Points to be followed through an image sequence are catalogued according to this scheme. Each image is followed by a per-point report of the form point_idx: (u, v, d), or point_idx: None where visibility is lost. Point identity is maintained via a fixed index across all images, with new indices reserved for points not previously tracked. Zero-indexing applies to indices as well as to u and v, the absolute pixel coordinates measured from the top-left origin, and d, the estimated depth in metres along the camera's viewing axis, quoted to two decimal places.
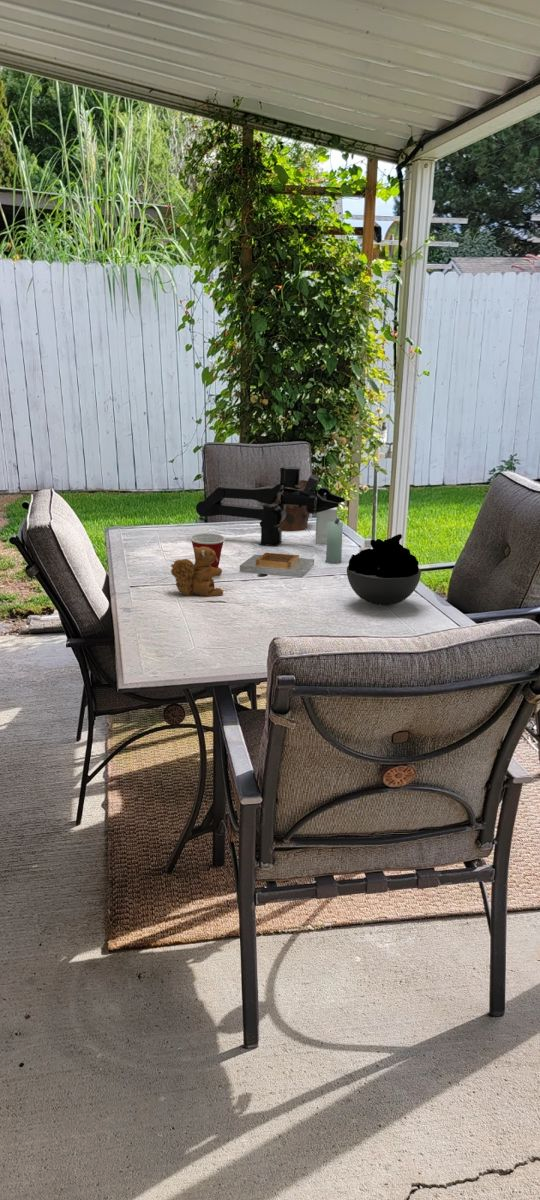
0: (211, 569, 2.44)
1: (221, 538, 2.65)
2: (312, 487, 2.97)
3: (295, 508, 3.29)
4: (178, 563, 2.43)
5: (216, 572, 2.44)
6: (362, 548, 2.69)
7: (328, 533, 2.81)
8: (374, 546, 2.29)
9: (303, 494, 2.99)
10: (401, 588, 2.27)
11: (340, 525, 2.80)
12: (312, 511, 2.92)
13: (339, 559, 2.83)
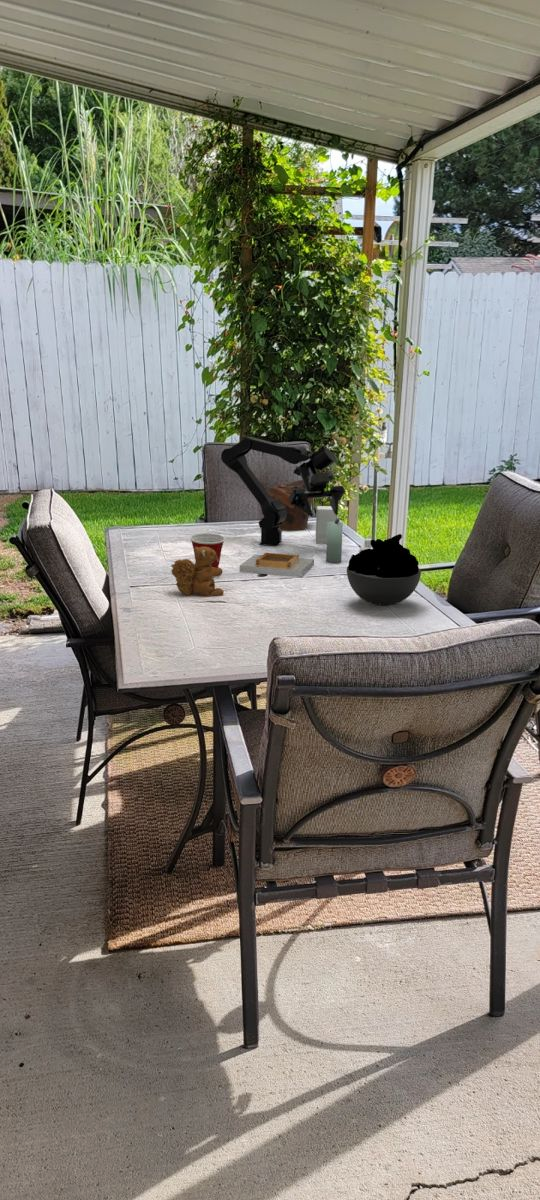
0: (211, 569, 2.44)
1: (221, 538, 2.65)
2: (313, 483, 2.88)
3: (295, 508, 3.29)
4: (178, 563, 2.43)
5: (217, 572, 2.44)
6: (362, 548, 2.69)
7: (328, 533, 2.81)
8: (374, 546, 2.29)
9: None
10: (401, 588, 2.27)
11: (340, 525, 2.80)
12: (290, 502, 2.90)
13: (339, 559, 2.83)
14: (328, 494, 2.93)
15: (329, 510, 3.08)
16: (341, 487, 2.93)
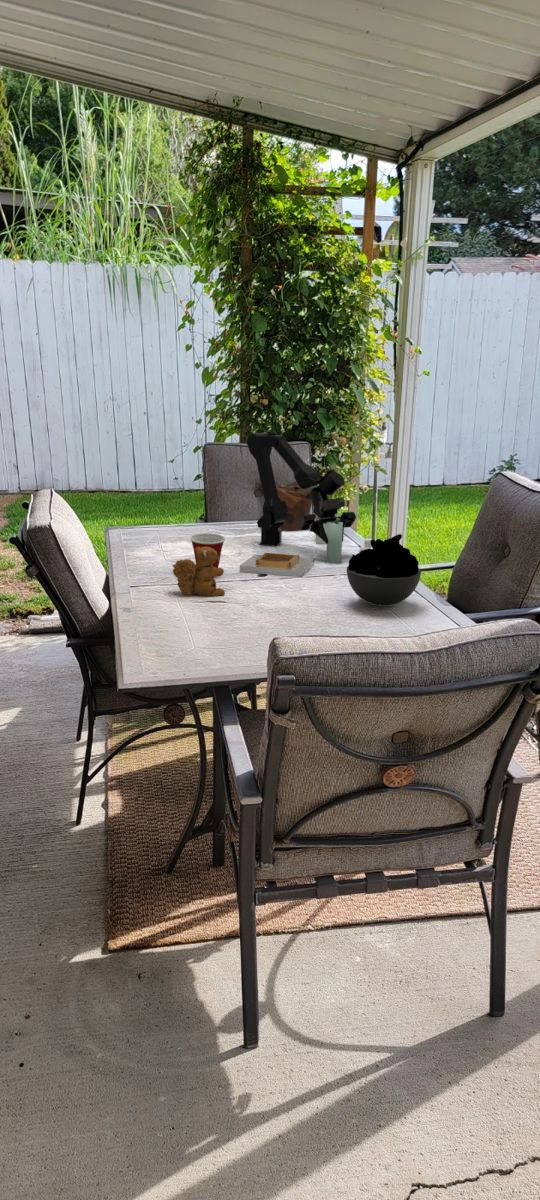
0: (213, 569, 2.44)
1: (221, 538, 2.65)
2: (324, 509, 2.83)
3: (295, 508, 3.29)
4: (180, 563, 2.43)
5: (218, 573, 2.44)
6: (362, 548, 2.69)
7: (328, 533, 2.81)
8: (374, 546, 2.29)
9: None
10: (401, 588, 2.27)
11: (340, 525, 2.80)
12: (300, 528, 2.85)
13: (339, 559, 2.83)
14: (334, 520, 2.87)
15: None
16: (352, 513, 2.87)
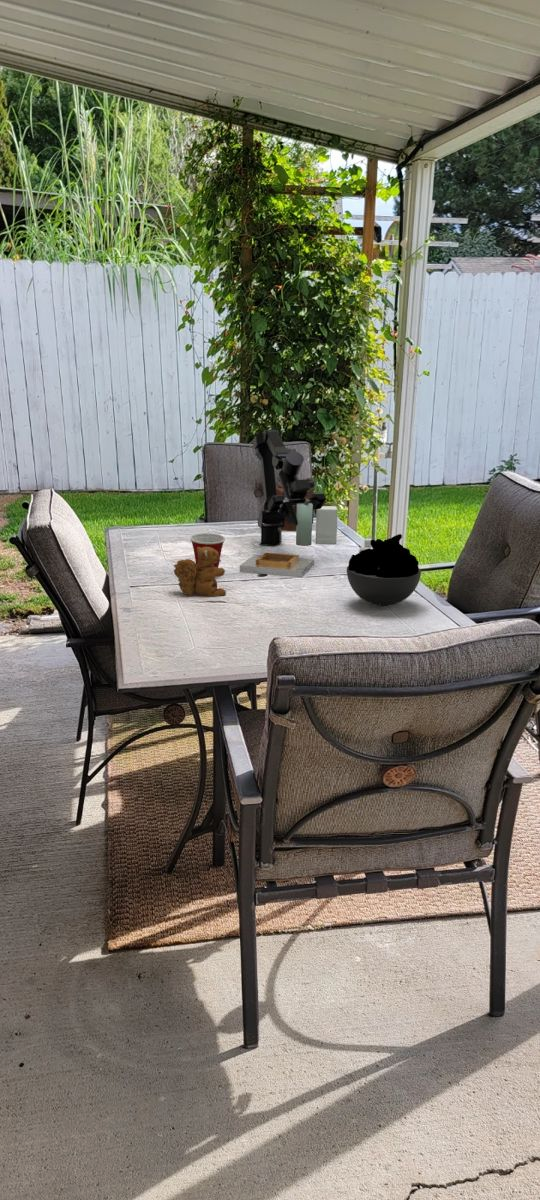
0: (214, 569, 2.44)
1: (221, 538, 2.65)
2: (293, 490, 2.75)
3: (295, 508, 3.29)
4: (181, 563, 2.43)
5: (219, 573, 2.44)
6: (362, 548, 2.69)
7: (298, 515, 2.74)
8: (374, 546, 2.29)
9: None
10: (401, 588, 2.27)
11: (310, 506, 2.72)
12: (269, 509, 2.77)
13: (309, 542, 2.76)
14: (303, 502, 2.79)
15: (329, 510, 3.08)
16: (322, 495, 2.80)
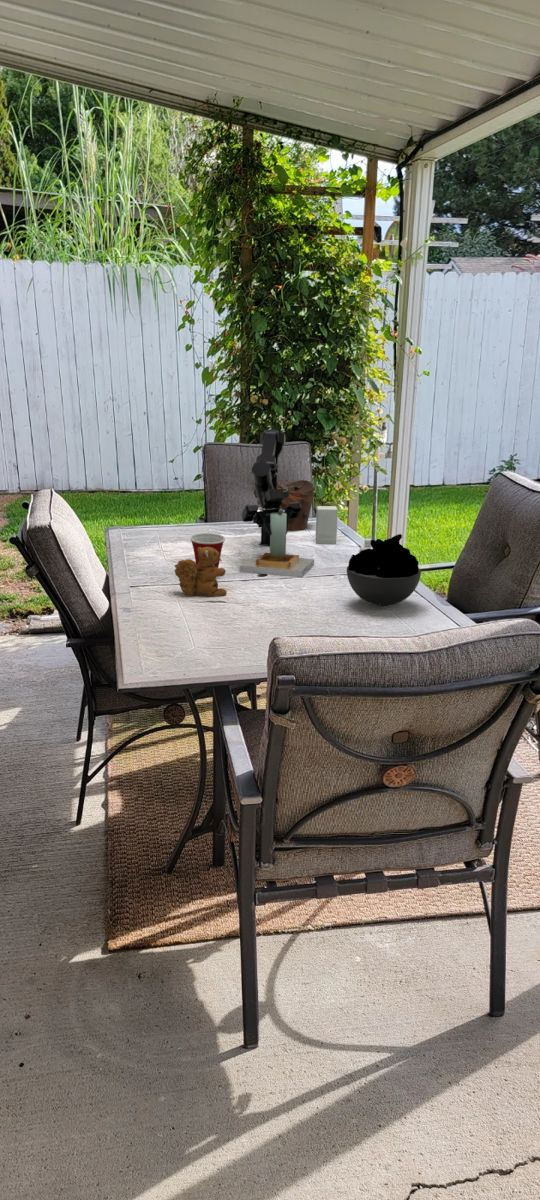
0: (215, 569, 2.44)
1: (221, 538, 2.65)
2: (267, 499, 2.72)
3: None
4: (182, 563, 2.43)
5: (220, 573, 2.44)
6: (362, 548, 2.69)
7: (271, 525, 2.70)
8: (374, 546, 2.29)
9: (263, 496, 2.75)
10: (401, 588, 2.27)
11: (283, 516, 2.69)
12: None
13: (283, 552, 2.72)
14: (278, 511, 2.76)
15: (329, 510, 3.08)
16: (298, 504, 2.76)
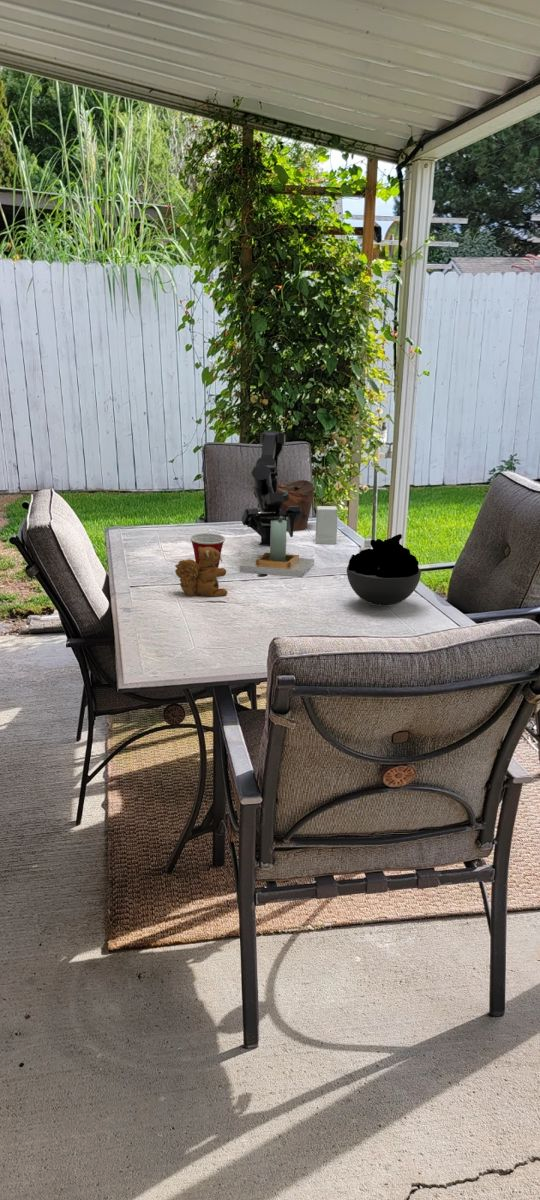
0: (215, 569, 2.44)
1: (221, 538, 2.65)
2: (267, 503, 2.72)
3: None
4: (182, 563, 2.43)
5: (221, 573, 2.44)
6: (362, 548, 2.69)
7: (271, 532, 2.71)
8: (374, 546, 2.29)
9: (263, 500, 2.75)
10: (401, 588, 2.27)
11: (284, 524, 2.69)
12: (242, 522, 2.74)
13: (283, 559, 2.73)
14: (284, 515, 2.77)
15: (329, 510, 3.08)
16: (297, 507, 2.76)
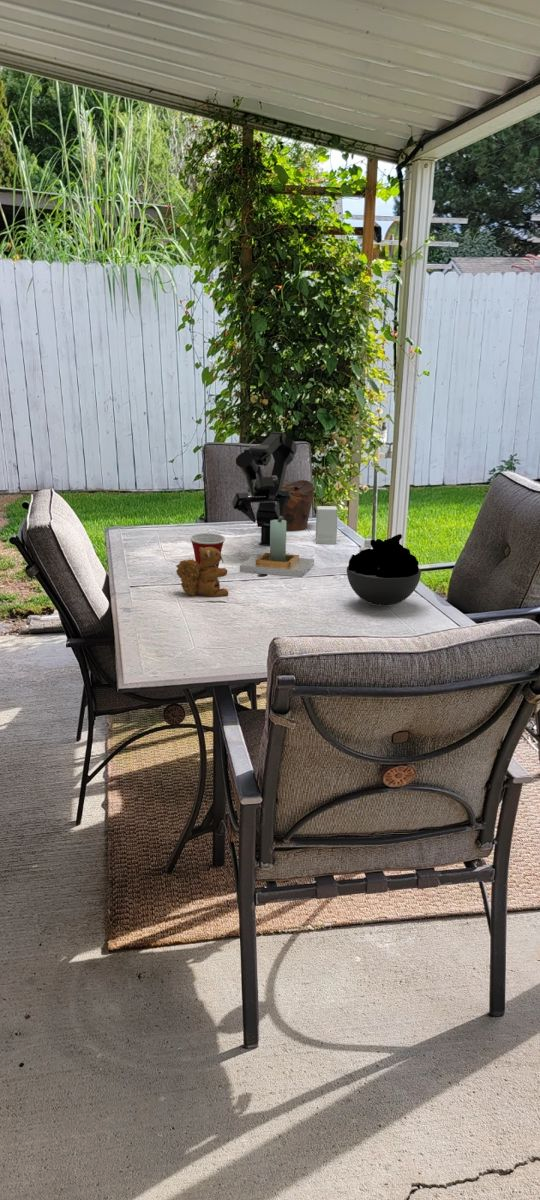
0: (216, 569, 2.43)
1: (221, 538, 2.65)
2: (257, 487, 2.79)
3: (295, 508, 3.29)
4: (183, 563, 2.43)
5: (222, 573, 2.44)
6: (362, 548, 2.69)
7: (271, 532, 2.71)
8: (374, 546, 2.29)
9: (253, 484, 2.83)
10: (401, 588, 2.27)
11: (283, 524, 2.69)
12: (233, 506, 2.81)
13: (283, 559, 2.73)
14: (273, 499, 2.84)
15: (329, 510, 3.08)
16: (287, 492, 2.84)
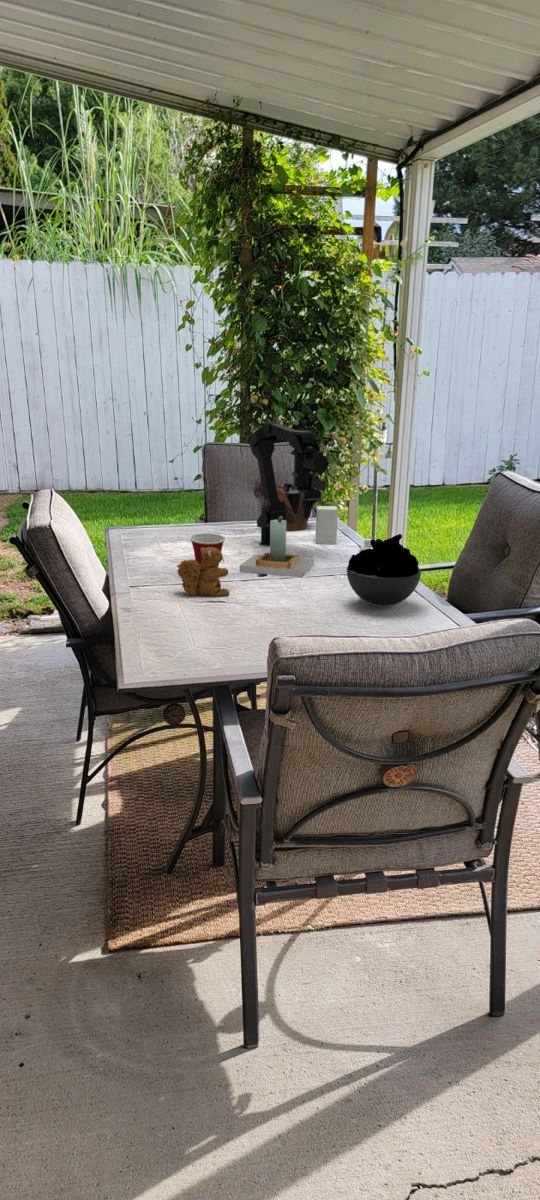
0: (217, 570, 2.43)
1: (221, 538, 2.65)
2: (317, 486, 2.88)
3: None
4: (184, 563, 2.43)
5: (223, 573, 2.44)
6: (362, 548, 2.69)
7: (271, 532, 2.71)
8: (374, 546, 2.29)
9: (310, 477, 2.87)
10: (401, 588, 2.27)
11: (283, 524, 2.69)
12: (307, 498, 2.80)
13: (283, 559, 2.73)
14: None
15: (329, 510, 3.08)
16: None
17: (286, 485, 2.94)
